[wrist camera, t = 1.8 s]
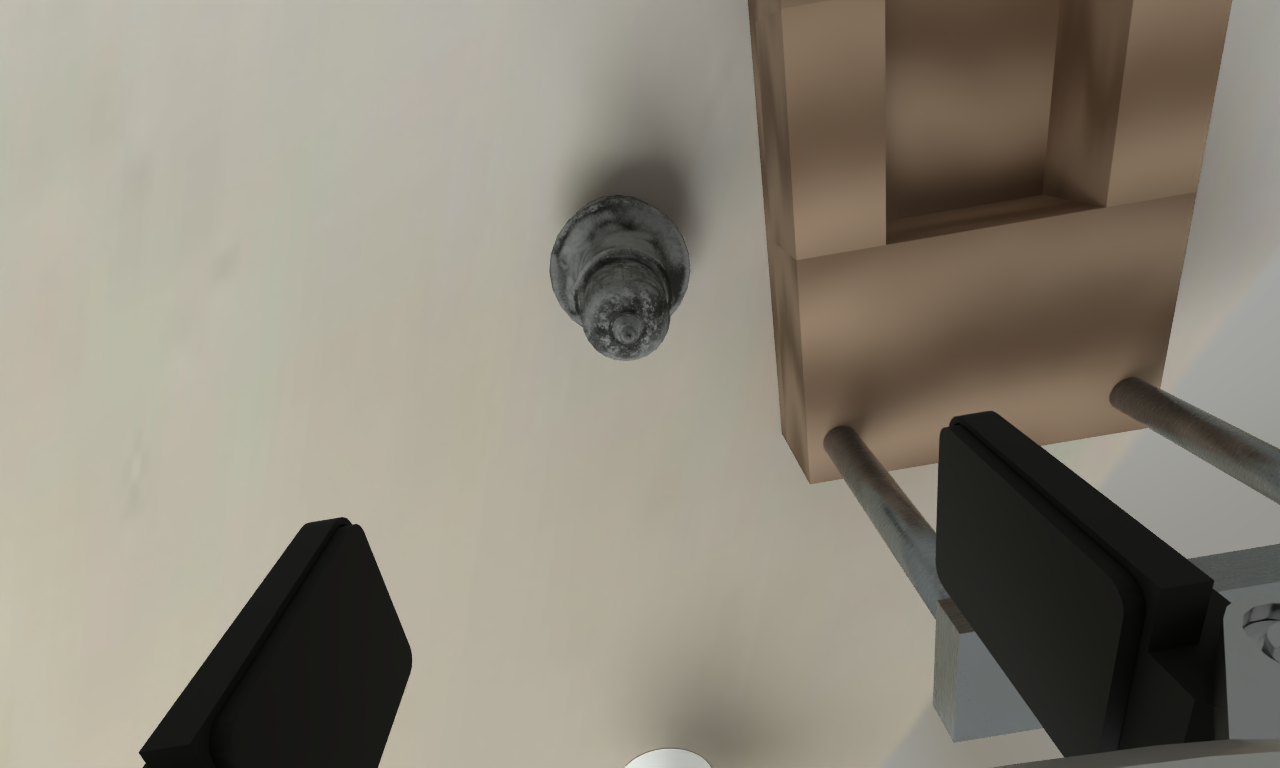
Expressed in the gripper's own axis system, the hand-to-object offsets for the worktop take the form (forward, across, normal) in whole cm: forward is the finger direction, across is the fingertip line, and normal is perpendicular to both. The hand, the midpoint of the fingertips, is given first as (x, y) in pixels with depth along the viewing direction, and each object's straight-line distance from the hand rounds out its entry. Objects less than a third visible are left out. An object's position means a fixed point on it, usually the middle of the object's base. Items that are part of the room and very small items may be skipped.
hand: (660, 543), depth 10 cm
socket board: (+22, -15, -1) cm, 26 cm away
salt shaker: (+22, 0, 0) cm, 22 cm away
